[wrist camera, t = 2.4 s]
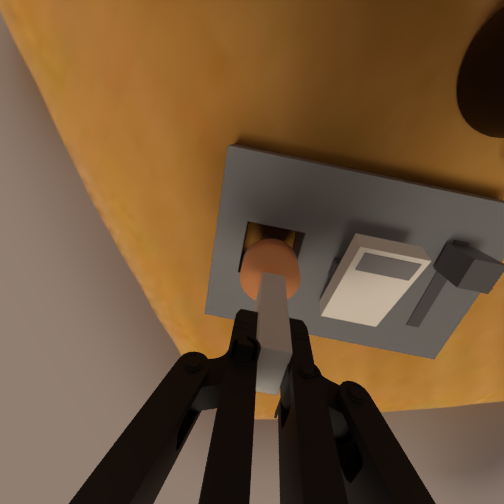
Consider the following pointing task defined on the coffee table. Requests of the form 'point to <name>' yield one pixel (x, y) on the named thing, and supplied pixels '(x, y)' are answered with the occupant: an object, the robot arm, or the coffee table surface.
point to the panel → (340, 236)
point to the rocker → (371, 279)
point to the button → (269, 265)
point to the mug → (485, 80)
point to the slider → (469, 268)
